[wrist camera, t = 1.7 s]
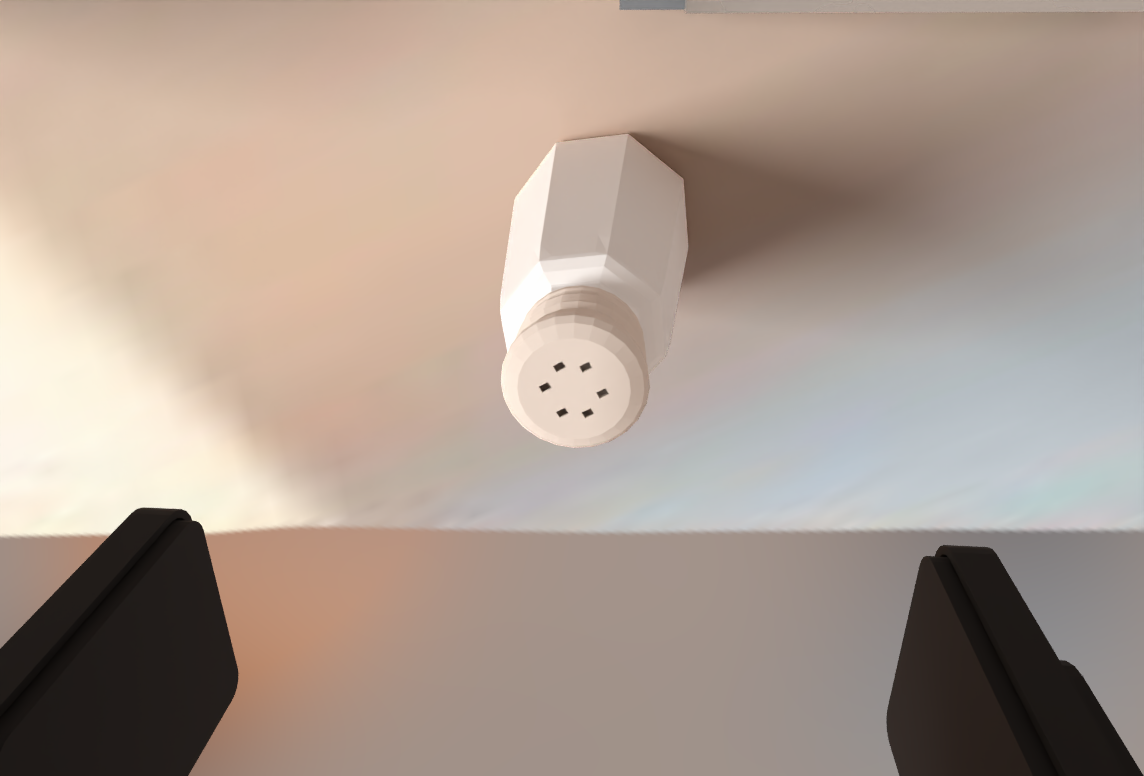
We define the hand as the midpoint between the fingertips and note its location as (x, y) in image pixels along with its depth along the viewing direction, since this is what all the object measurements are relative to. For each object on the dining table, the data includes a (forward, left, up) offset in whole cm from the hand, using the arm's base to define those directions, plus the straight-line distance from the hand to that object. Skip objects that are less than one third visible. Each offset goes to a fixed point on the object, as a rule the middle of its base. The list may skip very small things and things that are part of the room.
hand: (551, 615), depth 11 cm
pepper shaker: (-1, 0, -17) cm, 17 cm away
